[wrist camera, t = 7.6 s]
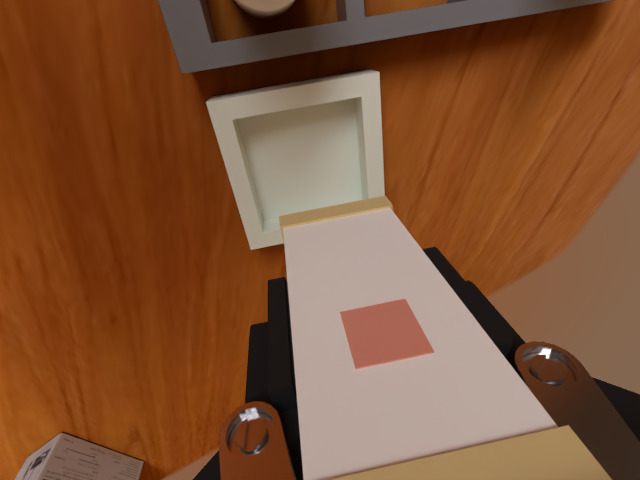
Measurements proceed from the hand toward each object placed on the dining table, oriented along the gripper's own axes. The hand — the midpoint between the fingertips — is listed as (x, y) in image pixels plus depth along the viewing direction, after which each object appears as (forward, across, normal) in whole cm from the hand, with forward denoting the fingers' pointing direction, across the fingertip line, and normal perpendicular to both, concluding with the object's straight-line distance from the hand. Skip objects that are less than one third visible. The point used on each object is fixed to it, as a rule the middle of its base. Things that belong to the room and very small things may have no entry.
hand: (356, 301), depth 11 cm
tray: (+16, 0, 0) cm, 16 cm away
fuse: (+3, 0, 0) cm, 3 cm away
